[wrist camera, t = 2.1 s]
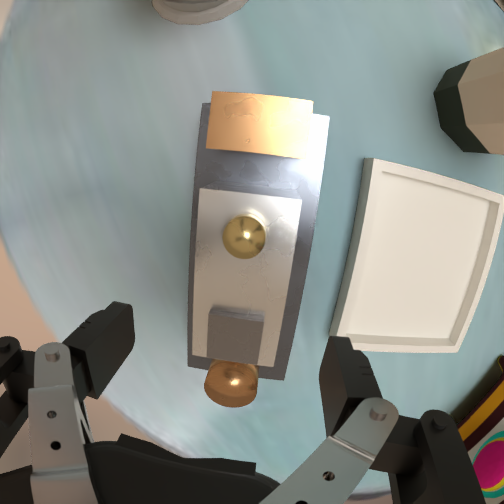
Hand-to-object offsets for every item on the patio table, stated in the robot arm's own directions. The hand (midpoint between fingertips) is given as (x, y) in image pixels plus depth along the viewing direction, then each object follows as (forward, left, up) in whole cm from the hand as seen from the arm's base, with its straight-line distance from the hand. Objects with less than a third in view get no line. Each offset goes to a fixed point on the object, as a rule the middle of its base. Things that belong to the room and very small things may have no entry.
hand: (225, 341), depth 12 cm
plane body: (0, 0, -14) cm, 14 cm away
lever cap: (0, 0, -9) cm, 9 cm away
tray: (0, +15, -14) cm, 21 cm away
